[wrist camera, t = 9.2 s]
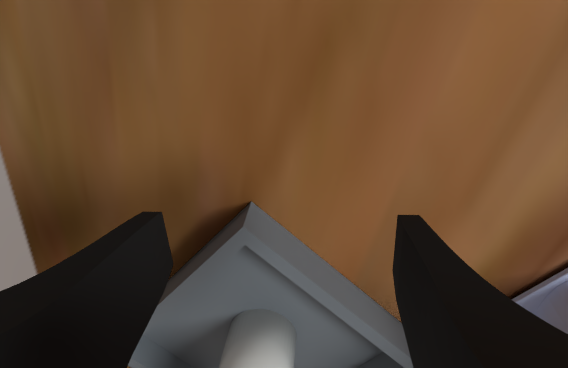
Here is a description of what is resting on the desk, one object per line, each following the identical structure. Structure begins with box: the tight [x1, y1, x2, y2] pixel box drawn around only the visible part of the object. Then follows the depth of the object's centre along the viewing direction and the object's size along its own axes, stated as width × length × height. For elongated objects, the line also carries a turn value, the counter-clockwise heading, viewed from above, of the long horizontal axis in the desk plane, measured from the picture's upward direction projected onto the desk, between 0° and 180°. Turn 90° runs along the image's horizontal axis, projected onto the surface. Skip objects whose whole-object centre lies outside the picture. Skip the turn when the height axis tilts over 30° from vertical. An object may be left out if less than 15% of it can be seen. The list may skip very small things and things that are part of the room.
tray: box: [128, 201, 413, 368], centre depth 27 cm, size 14×14×2 cm
